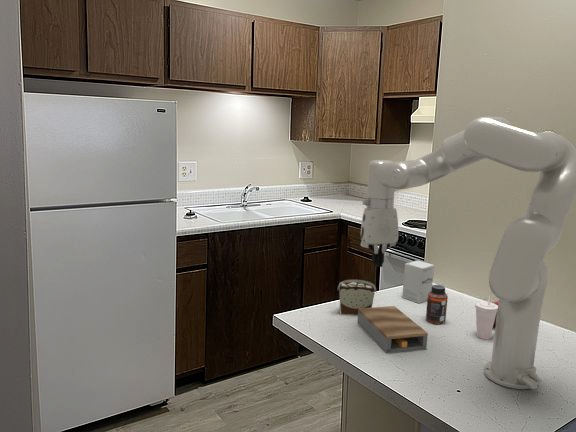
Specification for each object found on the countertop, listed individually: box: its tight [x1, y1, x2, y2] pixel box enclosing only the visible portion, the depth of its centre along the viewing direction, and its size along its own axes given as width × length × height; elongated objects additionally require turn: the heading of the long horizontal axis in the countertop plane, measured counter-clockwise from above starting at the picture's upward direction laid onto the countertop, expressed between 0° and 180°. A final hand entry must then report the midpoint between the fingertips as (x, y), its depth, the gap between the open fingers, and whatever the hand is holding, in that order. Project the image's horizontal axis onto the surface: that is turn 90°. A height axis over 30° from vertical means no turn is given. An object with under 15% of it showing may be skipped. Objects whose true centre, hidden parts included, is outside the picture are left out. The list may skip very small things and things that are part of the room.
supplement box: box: [401, 259, 435, 304], centre depth 178 cm, size 7×7×13 cm
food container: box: [337, 279, 378, 317], centre depth 165 cm, size 12×6×10 cm, turn 84°
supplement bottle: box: [425, 284, 449, 325], centre depth 160 cm, size 6×6×11 cm
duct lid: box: [358, 305, 429, 339], centre depth 148 cm, size 20×12×1 cm, turn 15°
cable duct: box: [357, 311, 428, 354], centre depth 149 cm, size 20×12×4 cm, turn 15°
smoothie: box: [474, 290, 498, 340], centre depth 149 cm, size 6×6×14 cm
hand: (377, 265), depth 150 cm, fingers closed
